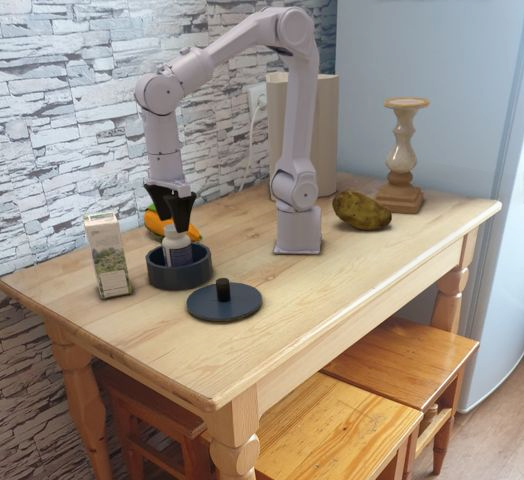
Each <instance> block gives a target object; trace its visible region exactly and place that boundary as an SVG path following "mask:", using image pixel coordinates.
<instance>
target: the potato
mask: <svg viewBox="0 0 524 480" xmlns="http://www.w3.org/2000/svg"><path fill="white" fill-rule="evenodd" d="M331 206H332V209H333V212H334V213H335V215H336V216H337V217H338V219H339V220H341V221H342V222H344V223H346V224H349V225H351V226H352V227H354V228H356V229H358V230H362V231H363V230H364V231H373V230H378V229H382V228H386V227H387V226H389V225H390V224H391V223H392V221H393V212H391V210H390V209H389V208H388V207H386V206H385V205H383V204H381V203H379V202H377V201H374V200H373V199H372V198H371V197H369V196H367V195H365V194H363V193H362V192H359V191H358V190H351V189H347V190H344V191H341V192H339V193H337V195H334V197H333V199H332V202H331Z"/></svg>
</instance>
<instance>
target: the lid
mask: <svg viewBox="0 0 524 480" xmlns="http://www.w3.org/2000/svg"><path fill="white" fill-rule="evenodd" d="M262 303H263V296H262V293H261V291H260V290H259V289H257V288H256V287H254V286H252V285H249V284H247V283H243V282H233V281H230V279H229V278H228V277H219V278H217V279H216V280H215V283H212V284H208V285H204V286H201V287H199V288H198V289H196V290H193V292H192V293H190V294H189V295H188V297H187V298H186V301H185V305H186V309H187V311H188V312H189V313H190V314H191V315H193V316H194V317H197V318H199V319H202V320H206V321H213V322H214V321H215V322H216V321H217V322H219V321H220V322H223V321H232V320H237V319H242V318H244V317H247V316H249V315H251V314H252V313H254V312H256V311H257V310H258V309H259V308H260V307H261V305H262Z"/></svg>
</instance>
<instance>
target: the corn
mask: <svg viewBox="0 0 524 480" xmlns="http://www.w3.org/2000/svg"><path fill="white" fill-rule="evenodd" d="M144 212H145V213H144V214H143V221H144V227H145V228H146V229H147V231H149V232H150V233H151V234H153V235H154V236H155V237H157V238H159V239H161V240H163V239H164V238H165V237H166V236H165V234H164V227H165V226H166V225H169V224H174V222H173V218H171V219H169V220H165V221H160V219H159V216H158V214H157V211H156V208H155V206H154V203H152V204H150V205H149V206H147V207H146V208H145V209H144ZM185 235H187V236H189V238H190V241H191V242H195V243H198V242H201V241H202V240H203V236H202V235H201V234H200V231H199V230H198V228H197V227H196V226H195V225H194V224H193V223H192V222H190V224H189V231H186V234H185Z"/></svg>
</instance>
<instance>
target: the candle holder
mask: <svg viewBox="0 0 524 480" xmlns="http://www.w3.org/2000/svg"><path fill="white" fill-rule="evenodd" d="M430 104H431V100H430V99H428V98H426V97H418V96H398V97H391V98H386V99H384V101H383V107H384V108H386V109H390V110H393V113H394V115H395V117H396V124H395V126H394V128H393V129H392V133H393V136H394V138H395V143H394V144H393V146H392V148H391V150H390V151H389V152H388V154H387V156H386V158H385V166H386V168H387V169H388V170H390V171H389V172H388V173H387V175H386V180H387V182H388V183H386V184H383V185H382V186H381V187H380V189H379V190H378V191H377V193H376V195H375V197H374V198H373V199H372V200H374V201H377V202H379V203H381V204H383V205H385V206H386V207H388V208H389V209H390V210H391V213H399V214H410V215H416V214H417V213H418V211H419V210H420V208H421V205H423V202H424V196H425V195H424V194H425V193H424V192H423V191H421V190H422V189H421V187H420V186H414V185H413V184H412V183H411V182H412V181H413V179H414V176H413V173H412V170H414V169H415V168H416V167H417V164H418V157H417V154H416V152H415V150H414V148H413V146H412V142H411V140H412V137H414V134H415V133H416V129H415V126H414V123H413V122H414V118H415V116H416V115H417V114H418V112H419V110H420V109H421V110H422V109H426V108H428V107H429V106H430Z"/></svg>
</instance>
